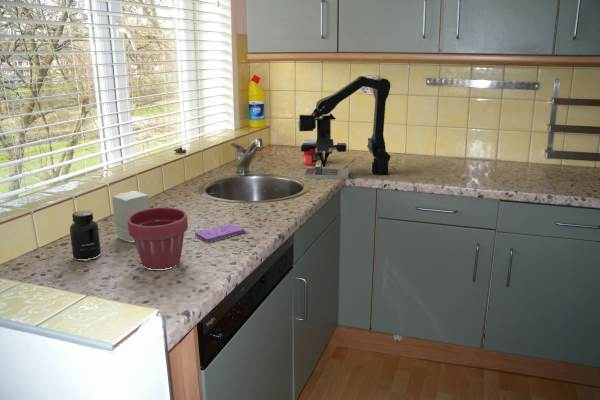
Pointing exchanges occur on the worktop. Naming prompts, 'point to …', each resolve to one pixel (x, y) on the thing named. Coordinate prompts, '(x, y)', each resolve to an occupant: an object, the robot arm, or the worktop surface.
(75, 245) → the supplement bottle
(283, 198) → the worktop surface
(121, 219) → the supplement box
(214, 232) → the sponges
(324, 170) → the breaker panel
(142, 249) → the plant pot
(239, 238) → the worktop surface
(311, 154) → the canned food
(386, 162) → the robot arm
